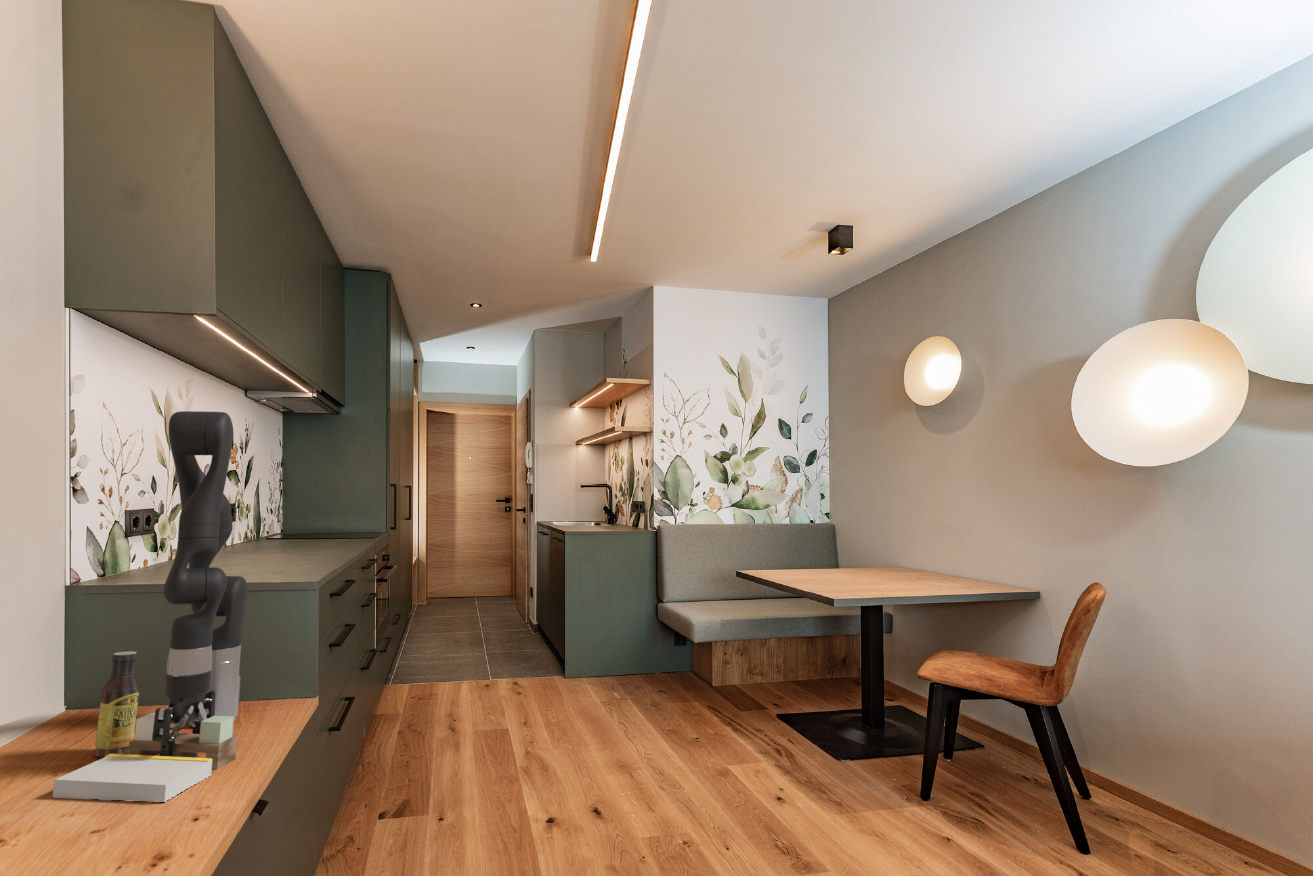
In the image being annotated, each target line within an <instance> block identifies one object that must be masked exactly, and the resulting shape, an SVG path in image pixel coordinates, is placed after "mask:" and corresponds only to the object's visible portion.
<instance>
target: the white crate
mask: <svg viewBox="0 0 1313 876" xmlns="http://www.w3.org/2000/svg"><path fill="white" fill-rule="evenodd" d="M154 719H155V712H150V713H148V714H146V715H143V716H140V717H138V718H136V725H135V734H134V739H135V740H143V741H152V735H153V727H154ZM162 731H163V729H162V728H160V733H159V734H161V733H162ZM170 733H171V732H170ZM170 733H169V734H170Z"/></svg>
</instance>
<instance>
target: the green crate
mask: <svg viewBox="0 0 1313 876" xmlns="http://www.w3.org/2000/svg"><path fill="white" fill-rule="evenodd" d="M233 720H234V716H213V717H210V718H208V719H206V720H204V721H202V722H201V726H200V740H199V743H209V744H220V743H222V742H224V741H226V740H228V739H230V738H231V737H232V736H233V733H234V731H233V730H234V721H233Z"/></svg>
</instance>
